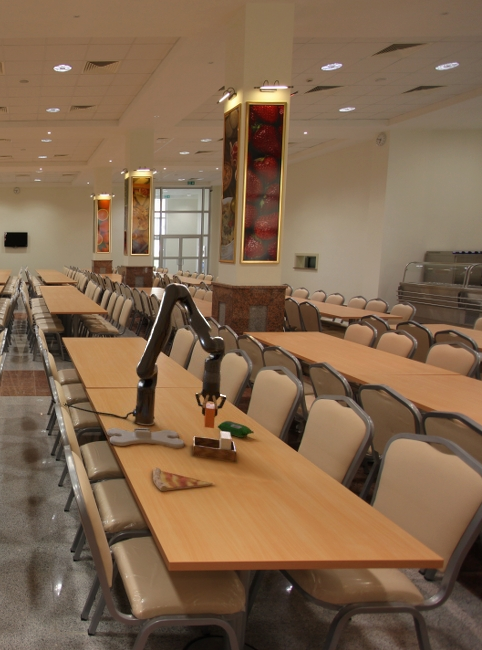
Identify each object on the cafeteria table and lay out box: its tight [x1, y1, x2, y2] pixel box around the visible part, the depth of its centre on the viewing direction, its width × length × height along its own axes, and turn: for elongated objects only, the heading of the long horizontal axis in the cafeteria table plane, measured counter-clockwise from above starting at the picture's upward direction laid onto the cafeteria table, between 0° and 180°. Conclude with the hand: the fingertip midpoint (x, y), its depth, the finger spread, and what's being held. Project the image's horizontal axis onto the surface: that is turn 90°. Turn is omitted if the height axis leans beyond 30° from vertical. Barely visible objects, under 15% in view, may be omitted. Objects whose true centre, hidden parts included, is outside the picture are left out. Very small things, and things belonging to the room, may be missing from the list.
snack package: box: [216, 420, 255, 438], centre depth 248 cm, size 7×16×5 cm, turn 35°
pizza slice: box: [152, 467, 214, 492], centre depth 194 cm, size 16×22×2 cm
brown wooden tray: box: [192, 435, 237, 462], centre depth 224 cm, size 17×12×5 cm
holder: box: [106, 427, 186, 449], centre depth 240 cm, size 19×34×5 cm, turn 86°
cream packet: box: [219, 430, 232, 450], centre depth 222 cm, size 4×9×9 cm, turn 160°
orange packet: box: [203, 402, 216, 429], centre depth 236 cm, size 4×9×9 cm, turn 160°
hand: (209, 415), depth 236 cm, fingers closed on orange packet, 4 cm apart
